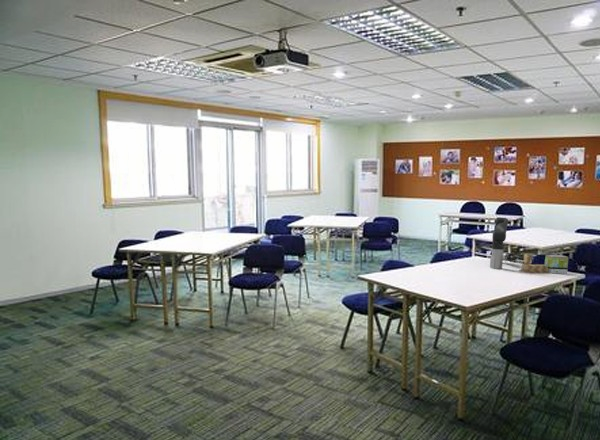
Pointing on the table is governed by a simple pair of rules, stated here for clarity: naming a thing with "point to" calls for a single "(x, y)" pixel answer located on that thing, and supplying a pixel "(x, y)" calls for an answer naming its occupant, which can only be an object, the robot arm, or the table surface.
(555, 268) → the tea box
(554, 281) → the table surface
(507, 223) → the robot arm
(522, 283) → the table surface
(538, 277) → the table surface
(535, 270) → the ridge board
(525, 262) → the post
